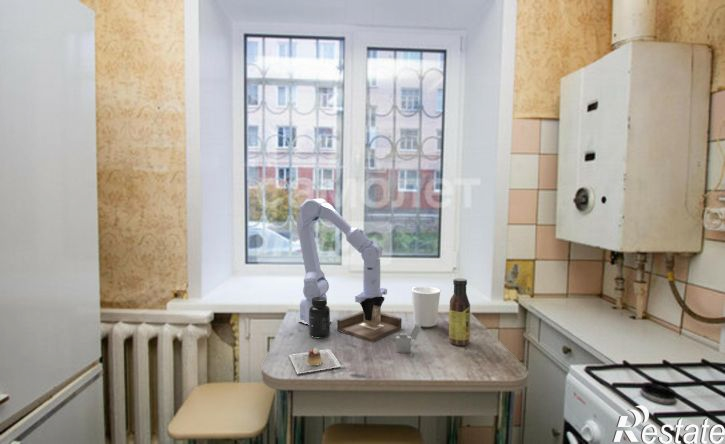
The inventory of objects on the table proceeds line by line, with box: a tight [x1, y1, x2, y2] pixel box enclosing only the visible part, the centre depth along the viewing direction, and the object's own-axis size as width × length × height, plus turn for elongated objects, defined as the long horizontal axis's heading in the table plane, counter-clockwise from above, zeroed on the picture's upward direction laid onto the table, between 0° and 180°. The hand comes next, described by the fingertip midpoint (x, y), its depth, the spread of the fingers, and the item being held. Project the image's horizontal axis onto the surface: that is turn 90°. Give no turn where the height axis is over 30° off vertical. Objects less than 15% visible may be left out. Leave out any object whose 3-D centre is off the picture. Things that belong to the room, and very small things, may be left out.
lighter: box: [395, 324, 422, 354], centre depth 112 cm, size 7×2×8 cm, turn 91°
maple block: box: [364, 305, 382, 326], centre depth 130 cm, size 3×5×6 cm, turn 49°
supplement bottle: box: [308, 297, 331, 338], centre depth 125 cm, size 7×7×12 cm
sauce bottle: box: [448, 277, 471, 347], centre depth 118 cm, size 6×6×20 cm
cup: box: [411, 285, 441, 330], centre depth 134 cm, size 10×10×13 cm
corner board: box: [336, 310, 403, 343], centre depth 130 cm, size 15×16×4 cm
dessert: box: [288, 347, 342, 375], centre depth 105 cm, size 12×12×5 cm
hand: (371, 318), depth 131 cm, fingers closed on maple block, 3 cm apart
